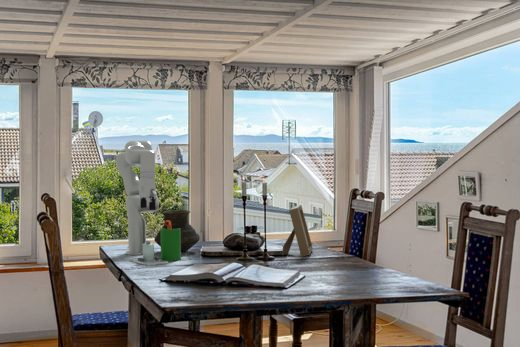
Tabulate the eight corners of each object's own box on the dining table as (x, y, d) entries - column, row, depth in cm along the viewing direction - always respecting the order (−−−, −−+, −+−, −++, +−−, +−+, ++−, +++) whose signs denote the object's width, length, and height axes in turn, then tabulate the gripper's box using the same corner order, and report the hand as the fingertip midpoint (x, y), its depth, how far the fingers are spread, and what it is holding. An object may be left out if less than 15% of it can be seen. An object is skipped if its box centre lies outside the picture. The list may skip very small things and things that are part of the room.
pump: (141, 260, 339) (140, 240, 339) (150, 258, 342) (150, 240, 342) (146, 261, 334) (145, 241, 334) (156, 260, 338) (155, 241, 337)
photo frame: (312, 250, 370) (311, 204, 370) (309, 256, 349) (308, 207, 348) (285, 250, 373) (284, 205, 372) (280, 256, 351) (279, 208, 350)
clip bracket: (129, 260, 343) (129, 256, 343) (149, 258, 350) (148, 254, 350) (147, 265, 327) (147, 261, 327) (168, 263, 334) (168, 258, 334)
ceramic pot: (150, 251, 379) (149, 210, 379) (192, 248, 388) (191, 208, 388) (160, 256, 357) (159, 213, 356) (204, 253, 366) (203, 211, 365)
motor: (182, 258, 350) (181, 219, 349) (178, 260, 341) (177, 221, 340) (162, 258, 351) (162, 219, 350) (158, 260, 342) (157, 221, 341)
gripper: (133, 174, 349) (133, 207, 350) (148, 176, 335) (148, 211, 336) (146, 173, 353) (146, 206, 354) (162, 175, 339) (162, 210, 340)
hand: (147, 208), depth 345 cm, fingers open, 9 cm apart
